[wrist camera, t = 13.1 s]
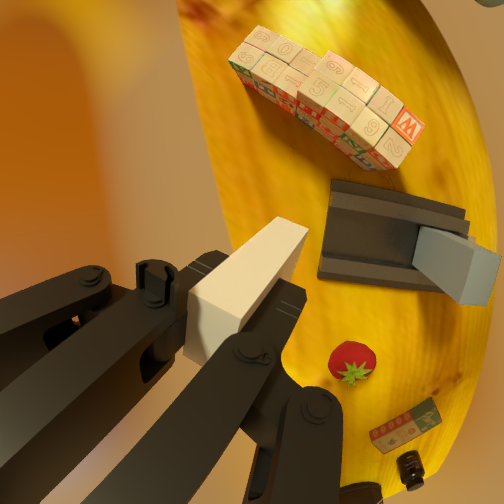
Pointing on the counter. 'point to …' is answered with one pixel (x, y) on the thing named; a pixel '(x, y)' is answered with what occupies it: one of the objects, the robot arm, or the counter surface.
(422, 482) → the supplement bottle
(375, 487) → the wooden barrel
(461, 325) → the counter surface
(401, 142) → the stack of blocks
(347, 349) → the strawberry
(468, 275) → the grey rectangular block
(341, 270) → the chute
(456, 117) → the counter surface
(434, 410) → the carton
